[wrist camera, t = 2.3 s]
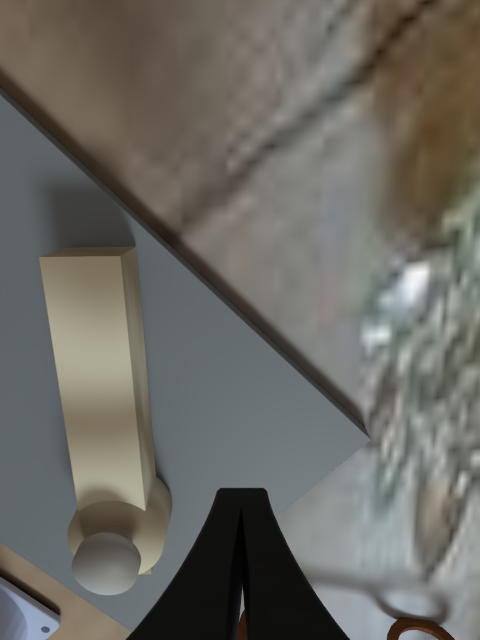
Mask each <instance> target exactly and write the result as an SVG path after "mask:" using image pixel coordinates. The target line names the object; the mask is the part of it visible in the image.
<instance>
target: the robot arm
mask: <svg viewBox="0 0 480 640" xmlns="http://www.w3.org/2000/svg"><path fill="white" fill-rule="evenodd" d="M242 585H243V594H244V607H245V619H246V631H247V640H350V639H349V638H348V637H347V635H346V634H345V633H344V632H343V630H342V629H341V628H340V627H339V625H338V624H337V623H336V622H335V620H334V619H333V618H332V616H331V615H330V613H329V612H328V611H327V609H326V608H325V606H324V605H323V604H322V602H321V601H320V599H319V598H318V596H317V595H316V593H315V592H314V590H313V589H312V587H311V586H310V584H309V582H308V581H307V579H306V577H305V576H304V574H303V572H302V571H301V569H300V567H299V565H298V564H297V562H296V560H295V558H294V556H293V554H292V553H291V551H290V549H289V547H288V545H287V543H286V540H285V538H284V536H283V534H282V532H281V530H280V528H279V525H278V523H277V521H276V518H275V516H274V513H273V510H272V507H271V504H270V501H269V497H268V492H267V491H266V490H265V489H264V488H220V489H219V490H218V491H217V492H216V496H215V499H214V502H213V505H212V507H211V510H210V512H209V514H208V516H207V519H206V521H205V523H204V525H203V527H202V529H201V531H200V533H199V535H198V537H197V539H196V541H195V543H194V545H193V546H192V548H191V550H190V552H189V553H188V555H187V557H186V558H185V560H184V562H183V563H182V565H181V567H180V568H179V570H178V572H177V573H176V575H175V576H174V578H173V579H172V581H171V582H170V584H169V585H168V587H167V588H166V590H165V591H164V592H163V594H162V595H161V597H160V598H159V599H158V601H157V602H156V603H155V605H154V606H153V607H152V608H151V610H150V611H149V612H148V614H147V615H146V616H145V617H144V619H143V620H142V621H141V622H140V624H139V625H138V626H137V627H136V628H135V630H134V631H133V632H132V633H131V634H130V635H129V637H128V638H127V639H126V640H237V637H238V626H239V616H240V606H241V596H242ZM60 623H61V618H60V616H59V615H57V614H56V613H54V612H53V611H51V610H50V609H48V608H47V607H45V606H44V605H42V604H41V603H39V602H38V601H36V600H35V599H33V598H32V597H30V596H29V595H27V594H26V593H24V592H23V591H21V590H20V589H18V588H17V587H15V586H14V585H12V584H11V583H9V582H8V581H6V580H5V579H3V578H2V577H0V640H45V639H47V638H48V637H49V636H50V635H51V634H52V633H53V632H55V631H56V630H57V629H58V628H59V626H60Z"/></svg>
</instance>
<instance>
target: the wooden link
mask: <svg viewBox="0 0 480 640" xmlns="http://www.w3.org/2000/svg"><path fill="white" fill-rule="evenodd" d="M39 260H40V267H41V273H42V280H43V286H44V292H45V299H46V305H47V312H48V318H49V325H50V331H51V338H52V344H53V350H54V357H55V363H56V370H57V376H58V383H59V389H60V396H61V402H62V408H63V415H64V421H65V428H66V434H67V441H68V447H69V453H70V460H71V466H72V473H73V479H74V486H75V492H76V499H77V505H78V508H77V510H76V512H75V514H74V516H73V518H72V520H71V522H70V524H69V527H68V533H67V537H68V543H69V546H70V549H71V551H72V553H73V554H74V558H73V561H72V573H73V575H74V577H75V579H76V580H77V582H78V583H79V584H80V585H81V586H82V587H84V588H85V589H87V590H89V591H91V592H93V593H96V594H100V595H116V594H120V593H123V592H125V591H127V590H128V589H130V588H131V587H132V586H133V585H134V583H135V582H136V579H137V576H138V575H139V574H152V571H153V567H154V565H155V564H156V562H157V561H158V560H159V558H160V556H161V554H162V551H163V547H164V543H165V539H166V534H167V530H168V525H169V521H170V517H171V512H172V499H171V495H170V493H169V491H168V489H167V487H166V486H165V485H164V483H163V482H162V481H161V480H160V479H158V478H157V477H156V469H155V458H154V446H153V435H152V423H151V412H150V400H149V389H148V377H147V366H146V354H145V343H144V331H143V320H142V308H141V297H140V285H139V273H138V262H137V250H136V247H65V248H62V249H59V250H57V251H54V252H51V253H49V254H46V255H43V256H41V257H39Z"/></svg>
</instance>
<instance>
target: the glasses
mask: <svg viewBox="0 0 480 640" xmlns="http://www.w3.org/2000/svg"><path fill="white" fill-rule="evenodd" d="M408 630H419V631H423V632H426V633H428V634H431V635H432V636H434V637H436V638H437V639H438V640H455V639H454V638H453V637H452V636H451V635H450V634H449V633H448V632H447V631H446V630H444V629H443V628H442V627H440V626H439V625H437V624H435V623H434V622H431V621H427V620H421V619H415V618H409V617H404V618H401V619H399V620H397V621H396V622H395V623H394V624H393V625H392V626H391V628H390V630H389V632H388V634H387V640H398V638H399V636H400V634H401V633H403V632H405V631H408ZM237 640H247V631H246V619H245V609H244V611H243V613H242V615H241V618H240V621H239V626H238V637H237Z"/></svg>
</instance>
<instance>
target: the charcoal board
mask: <svg viewBox="0 0 480 640" xmlns="http://www.w3.org/2000/svg"><path fill="white" fill-rule="evenodd" d="M65 247H136V250H137V262H138V273H139V285H140V297H141V308H142V320H143V331H144V343H145V354H146V366H147V377H148V389H149V400H150V412H151V423H152V435H153V446H154V458H155V469H156V477H157V478H158V479H160V480H161V481H162V482H163V483H164V485H165V486H166V487H167V489H168V491H169V493H170V495H171V499H172V512H171V517H170V521H169V525H168V530H167V534H166V539H165V543H164V547H163V551H162V554H161V556H160V558H159V560H158V561H157V562H156V564H155V565H154V567H153V571H152V574H139V575H138V576H137V579H136V582H135V583H134V585H133V586H132V587H131V588H130V589H128V590H127V591H125V592H123V593H120V594H116V595H100V594H96V593H93V592H91V591H89V590H87V589H85V588H84V587H82V586H81V585H80V584H79V583H78V582H77V580H76V579H75V577H74V575H73V573H72V561H73V558H74V554H73V553H72V551H71V549H70V546H69V543H68V537H67V533H68V527H69V524H70V522H71V520H72V518H73V516H74V514H75V512H76V510H77V508H78V505H77V499H76V492H75V486H74V479H73V473H72V466H71V460H70V453H69V447H68V441H67V434H66V428H65V421H64V415H63V408H62V402H61V396H60V389H59V383H58V376H57V370H56V363H55V357H54V350H53V344H52V338H51V331H50V325H49V318H48V312H47V305H46V299H45V292H44V286H43V280H42V273H41V267H40V260H39V257H41V256H43V255H46V254H49V253H51V252H54V251H57V250H59V249H62V248H65ZM370 440H371V439H370V437H369V435H368V433H367V430H366V428H364V427H363V426H362V425H361V424H360V423H359V422H358V421H357V420H356V419H355V418H354V417H353V416H352V415H351V414H350V413H348V412H347V411H346V410H345V409H344V408H343V407H342V406H341V405H340V404H339V403H338V402H337V401H336V400H335V399H333V398H332V397H331V396H330V395H329V394H328V393H327V392H326V391H325V390H324V389H323V388H322V387H321V386H320V385H318V384H317V383H316V382H315V381H314V380H313V379H312V378H311V377H310V376H309V375H308V374H307V373H306V372H305V371H304V370H302V369H301V368H300V367H299V366H298V365H297V364H296V363H295V362H294V361H293V360H292V359H291V358H290V357H289V356H287V355H286V354H285V353H284V352H283V351H282V350H281V349H280V348H279V347H278V346H277V345H276V344H275V343H274V342H272V341H271V340H270V339H269V338H268V337H267V336H266V335H265V334H264V333H263V332H262V331H261V330H260V329H259V328H258V327H256V326H255V325H254V324H253V323H252V322H251V321H250V320H249V319H248V318H247V317H246V316H245V315H244V314H243V313H241V312H240V311H239V310H238V309H237V308H236V307H235V306H234V305H233V304H232V303H231V302H230V301H229V300H228V299H226V298H225V297H224V296H223V295H222V294H221V293H220V292H219V291H218V290H217V289H216V288H215V287H214V286H213V285H212V284H210V283H209V282H208V281H207V280H206V279H205V278H204V277H203V276H202V275H201V274H200V273H199V272H198V271H197V270H195V269H194V268H193V267H192V266H191V265H190V264H189V263H188V262H187V261H186V260H185V259H184V258H183V257H182V256H180V255H179V254H178V253H177V252H176V251H175V250H174V249H173V248H172V247H171V246H170V245H169V244H168V243H167V242H166V241H164V240H163V239H162V238H161V237H160V236H159V235H158V234H157V233H156V232H155V231H154V230H153V229H152V228H151V227H149V226H148V225H147V224H146V223H145V222H144V221H143V220H142V219H141V218H140V217H139V216H138V215H137V214H136V213H134V212H133V211H132V210H131V209H130V208H129V207H128V206H127V205H126V204H125V203H124V202H123V201H122V200H121V199H120V198H118V197H117V196H116V195H115V194H114V193H113V192H112V191H111V190H110V189H109V188H108V187H107V186H106V185H105V184H103V183H102V182H101V181H100V180H99V179H98V178H97V177H96V176H95V175H94V174H93V173H92V172H91V171H90V170H88V169H87V168H86V167H85V166H84V165H83V164H82V163H81V162H80V161H79V160H78V159H77V158H76V157H75V156H74V155H72V154H71V153H70V152H69V151H68V150H67V149H66V148H65V147H64V146H63V145H62V144H61V143H60V142H59V141H57V140H56V139H55V138H54V137H53V136H52V135H51V134H50V133H49V132H48V131H47V130H46V129H45V128H44V127H42V126H41V125H40V124H39V123H38V122H37V121H36V120H35V119H34V118H33V117H32V116H31V115H30V114H29V113H28V112H26V111H25V110H24V109H23V108H22V107H21V106H20V105H19V104H18V103H17V102H16V101H15V100H14V99H13V98H11V97H10V96H9V95H8V94H7V93H6V92H5V91H4V90H3V89H2V88H1V87H0V542H1V543H2V544H4V545H5V546H7V547H8V548H10V549H11V550H13V551H14V552H15V553H17V554H18V555H20V556H21V557H23V558H24V559H26V560H27V561H29V562H30V563H32V564H33V565H35V566H36V567H37V568H39V569H40V570H42V571H43V572H45V573H46V574H48V575H49V576H51V577H52V578H54V579H55V580H57V581H58V582H59V583H61V584H62V585H64V586H65V587H67V588H68V589H70V590H71V591H73V592H74V593H76V594H77V595H78V596H80V597H81V598H83V599H84V600H86V601H87V602H89V603H90V604H92V605H93V606H95V607H96V608H98V609H99V610H100V611H102V612H103V613H105V614H106V615H108V616H109V617H111V618H112V619H114V620H115V621H117V622H118V623H120V624H121V625H122V626H124V627H125V628H127V629H128V630H130V631H131V632H133V631H134V630H135V628H136V627H137V626H138V625H139V624H140V622H141V621H142V620H143V619H144V617H145V616H146V615H147V614H148V612H149V611H150V610H151V608H152V607H153V606H154V605H155V603H156V602H157V601H158V599H159V598H160V597H161V595H162V594H163V592H164V591H165V590H166V588H167V587H168V585H169V584H170V582H171V581H172V579H173V578H174V576H175V575H176V573H177V572H178V570H179V568H180V567H181V565H182V563H183V562H184V560H185V558H186V557H187V555H188V553H189V552H190V550H191V548H192V546H193V545H194V543H195V541H196V539H197V537H198V535H199V533H200V531H201V529H202V527H203V525H204V523H205V521H206V519H207V516H208V514H209V512H210V510H211V507H212V505H213V502H214V499H215V496H216V492H217V491H218V490H219V489H220V488H264V489H265V490H266V491H267V492H268V497H269V501H270V504H271V507H272V510H273V513H274V516H275V517H276V516H277V515H278V514H280V513H281V512H282V511H283V510H285V509H286V508H287V507H288V506H290V505H291V504H292V503H293V502H294V501H296V500H297V499H298V498H299V497H301V496H302V495H303V494H304V493H306V492H307V491H308V490H309V489H311V488H312V487H313V486H314V485H316V484H317V483H318V482H319V481H320V480H322V479H323V478H324V477H325V476H327V475H328V474H329V473H330V472H332V471H333V470H334V469H335V468H337V467H338V466H339V465H340V464H342V463H343V462H344V461H345V460H346V459H348V458H349V457H350V456H351V455H353V454H354V453H355V452H356V451H358V450H359V449H360V448H361V447H363V446H364V445H365V444H366V443H368V442H369V441H370Z"/></svg>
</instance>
